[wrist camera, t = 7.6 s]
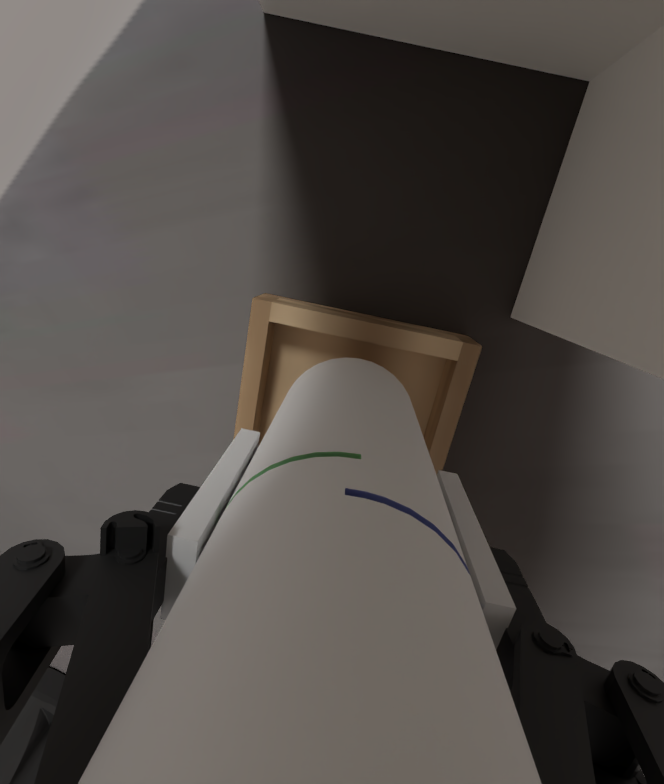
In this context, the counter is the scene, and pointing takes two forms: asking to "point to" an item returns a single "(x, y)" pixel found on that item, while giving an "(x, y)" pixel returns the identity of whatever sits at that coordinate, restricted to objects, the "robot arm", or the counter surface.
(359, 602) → the cylindrical container
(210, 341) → the counter surface
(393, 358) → the tray
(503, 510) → the counter surface
